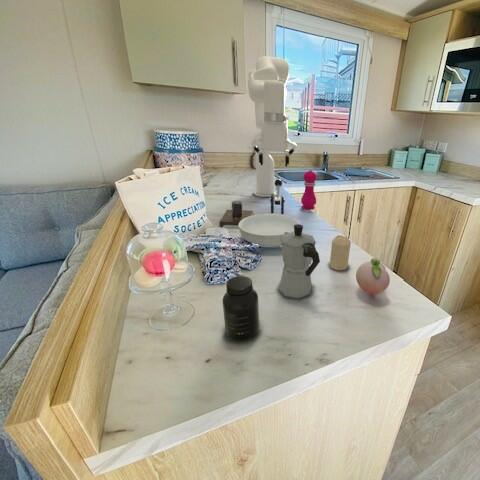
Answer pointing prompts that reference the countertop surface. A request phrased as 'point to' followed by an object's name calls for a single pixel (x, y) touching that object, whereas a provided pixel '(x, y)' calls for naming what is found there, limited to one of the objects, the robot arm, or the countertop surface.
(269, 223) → the serving bowl
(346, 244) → the candle
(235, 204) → the tap knob
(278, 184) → the tap lever
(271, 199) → the tap bracket
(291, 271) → the coffee maker
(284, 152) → the robot arm
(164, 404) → the countertop surface
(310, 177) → the pepper mill
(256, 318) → the supplement bottle
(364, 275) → the decorative fruit
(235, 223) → the brown rectangular slab
